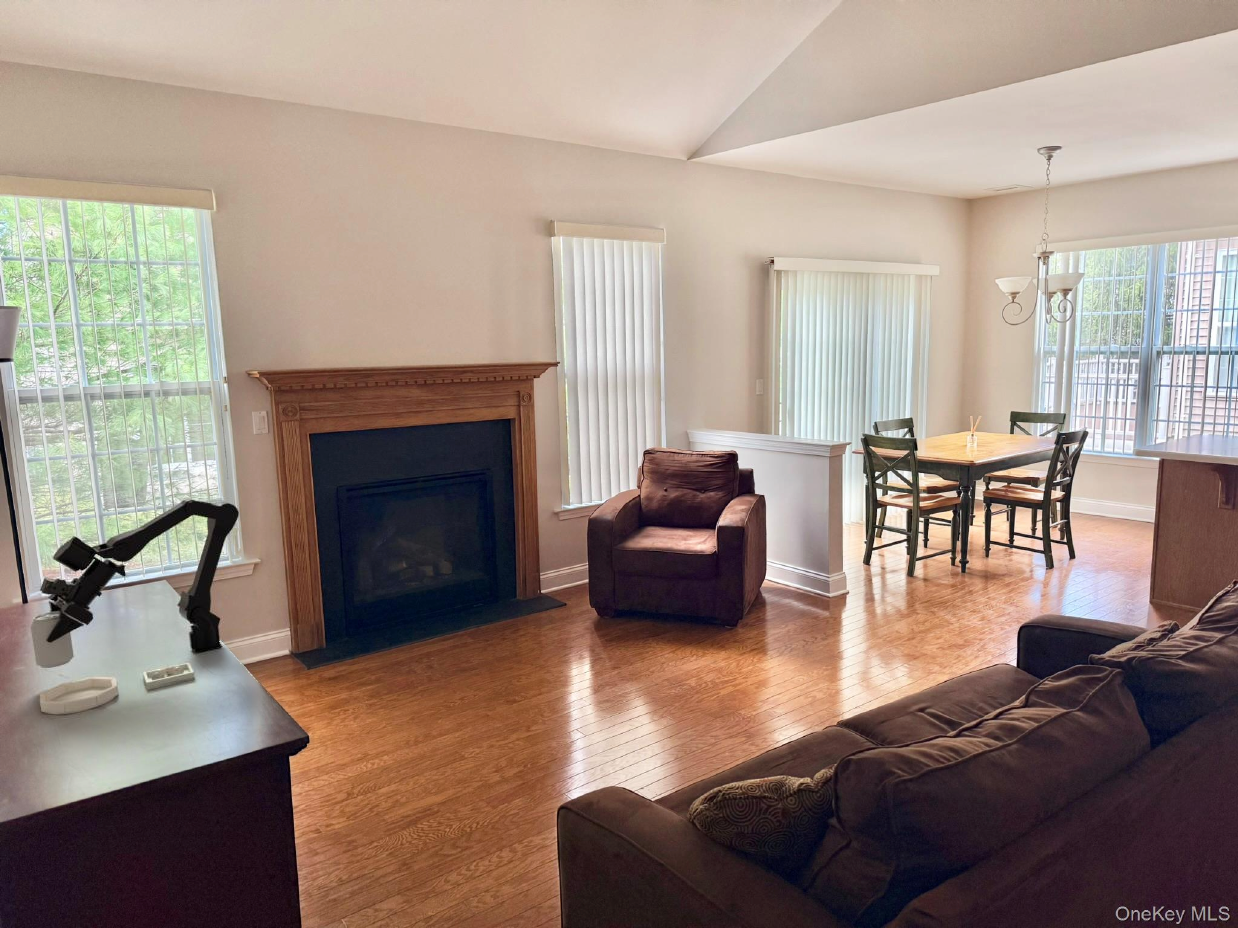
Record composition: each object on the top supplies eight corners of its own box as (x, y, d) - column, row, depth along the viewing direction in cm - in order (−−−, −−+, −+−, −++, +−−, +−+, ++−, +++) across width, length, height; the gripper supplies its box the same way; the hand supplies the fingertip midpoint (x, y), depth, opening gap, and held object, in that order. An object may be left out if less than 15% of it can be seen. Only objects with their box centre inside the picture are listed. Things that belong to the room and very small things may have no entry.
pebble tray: (189, 669, 207) (189, 662, 206) (194, 679, 200) (193, 671, 200) (143, 679, 201) (142, 672, 201) (147, 689, 195) (146, 682, 194)
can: (55, 669, 195) (48, 620, 193) (28, 668, 196) (21, 619, 195) (82, 657, 202) (75, 609, 200) (55, 656, 204) (48, 609, 202)
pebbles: (182, 670, 205) (181, 660, 204) (185, 676, 200) (184, 667, 200) (150, 677, 201) (148, 667, 200) (152, 684, 196) (151, 674, 196)
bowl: (115, 682, 200) (114, 672, 200) (120, 702, 188) (118, 691, 188) (41, 698, 192) (40, 687, 191) (41, 720, 180) (40, 709, 179)
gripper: (53, 558, 205) (5, 612, 199) (69, 570, 192) (18, 629, 186) (94, 581, 212) (49, 635, 206) (113, 595, 198) (65, 653, 192)
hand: (44, 637), depth 197 cm, fingers closed on can, 7 cm apart
